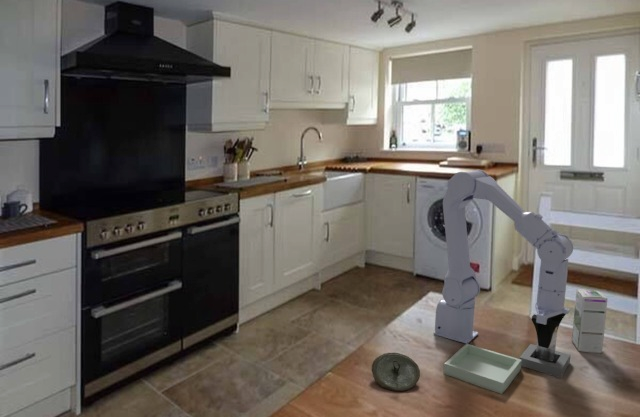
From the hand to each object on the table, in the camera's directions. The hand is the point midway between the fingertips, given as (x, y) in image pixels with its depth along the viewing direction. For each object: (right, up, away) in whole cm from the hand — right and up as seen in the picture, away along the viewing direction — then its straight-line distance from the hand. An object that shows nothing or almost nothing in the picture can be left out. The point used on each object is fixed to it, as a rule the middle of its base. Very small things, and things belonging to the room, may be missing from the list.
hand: (546, 343), depth 112 cm
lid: (-36, -6, -7) cm, 38 cm away
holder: (0, -5, +1) cm, 5 cm away
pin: (0, -3, +1) cm, 3 cm away
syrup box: (+15, -4, +10) cm, 18 cm away
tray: (-16, -6, -3) cm, 17 cm away
